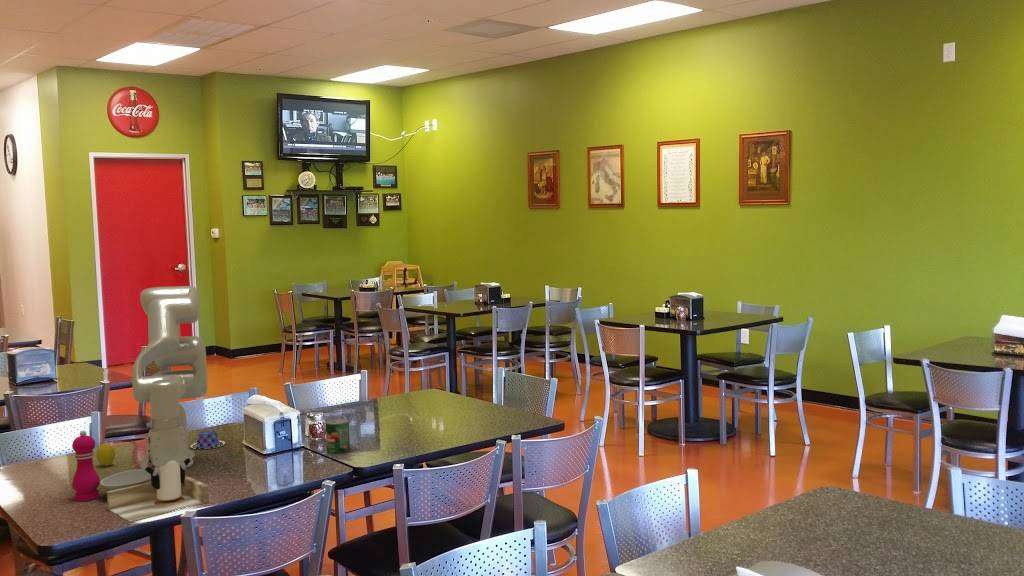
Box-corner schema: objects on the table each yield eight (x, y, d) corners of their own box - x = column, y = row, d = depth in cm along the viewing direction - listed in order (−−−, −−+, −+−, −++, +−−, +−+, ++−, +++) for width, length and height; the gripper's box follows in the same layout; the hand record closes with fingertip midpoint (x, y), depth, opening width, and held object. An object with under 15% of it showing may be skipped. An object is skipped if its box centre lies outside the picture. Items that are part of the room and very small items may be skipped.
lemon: (93, 467, 284) (92, 444, 283) (107, 463, 289) (105, 439, 288) (106, 469, 281) (104, 445, 281) (119, 464, 287) (118, 441, 286)
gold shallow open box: (107, 509, 241) (106, 491, 241) (184, 490, 257) (183, 474, 256) (129, 522, 230) (128, 504, 229) (208, 502, 245) (208, 485, 245)
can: (186, 494, 249) (183, 453, 248) (172, 501, 243) (170, 460, 242) (165, 493, 250) (163, 452, 249) (152, 500, 244) (150, 459, 243)
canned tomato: (353, 450, 299) (352, 418, 299) (344, 456, 292) (343, 424, 291) (332, 449, 301) (331, 418, 300) (322, 455, 294) (321, 423, 293)
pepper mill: (82, 503, 247) (77, 434, 245) (68, 499, 251) (63, 431, 249) (105, 496, 253) (101, 429, 251) (91, 492, 257) (87, 426, 255)
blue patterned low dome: (208, 452, 302) (208, 437, 301) (182, 449, 306) (181, 434, 306) (232, 443, 313) (232, 429, 312) (207, 441, 317) (206, 427, 317)
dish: (137, 482, 266) (136, 466, 266) (172, 487, 260) (171, 471, 260) (88, 499, 250) (87, 482, 250) (124, 505, 244) (123, 488, 244)
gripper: (139, 431, 236) (143, 495, 237) (200, 420, 248) (203, 481, 250) (129, 427, 241) (132, 489, 243) (189, 416, 253) (192, 476, 255)
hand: (168, 484), depth 246 cm, fingers closed on can, 6 cm apart
